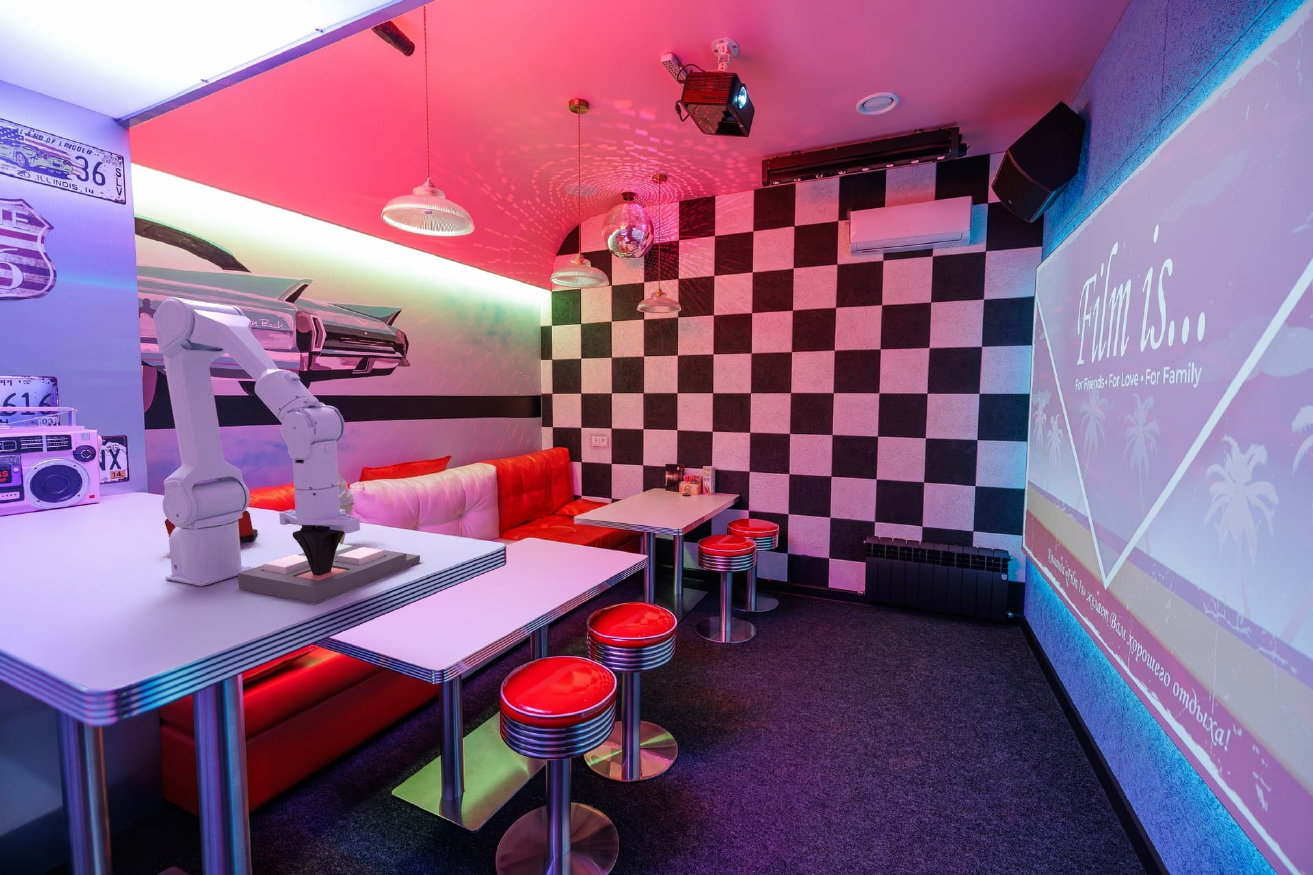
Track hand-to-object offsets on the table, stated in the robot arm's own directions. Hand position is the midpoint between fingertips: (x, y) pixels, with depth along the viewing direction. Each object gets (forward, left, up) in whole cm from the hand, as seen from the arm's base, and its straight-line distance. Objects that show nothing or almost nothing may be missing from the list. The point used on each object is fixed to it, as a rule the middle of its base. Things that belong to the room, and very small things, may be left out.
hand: (322, 573), depth 82 cm
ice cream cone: (-18, +17, -2) cm, 25 cm away
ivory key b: (0, +7, 0) cm, 7 cm away
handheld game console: (-41, +9, -3) cm, 42 cm away
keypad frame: (-3, +5, -2) cm, 7 cm away
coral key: (0, 0, -1) cm, 1 cm away
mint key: (-7, +7, 0) cm, 10 cm away
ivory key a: (-7, 0, 0) cm, 7 cm away
